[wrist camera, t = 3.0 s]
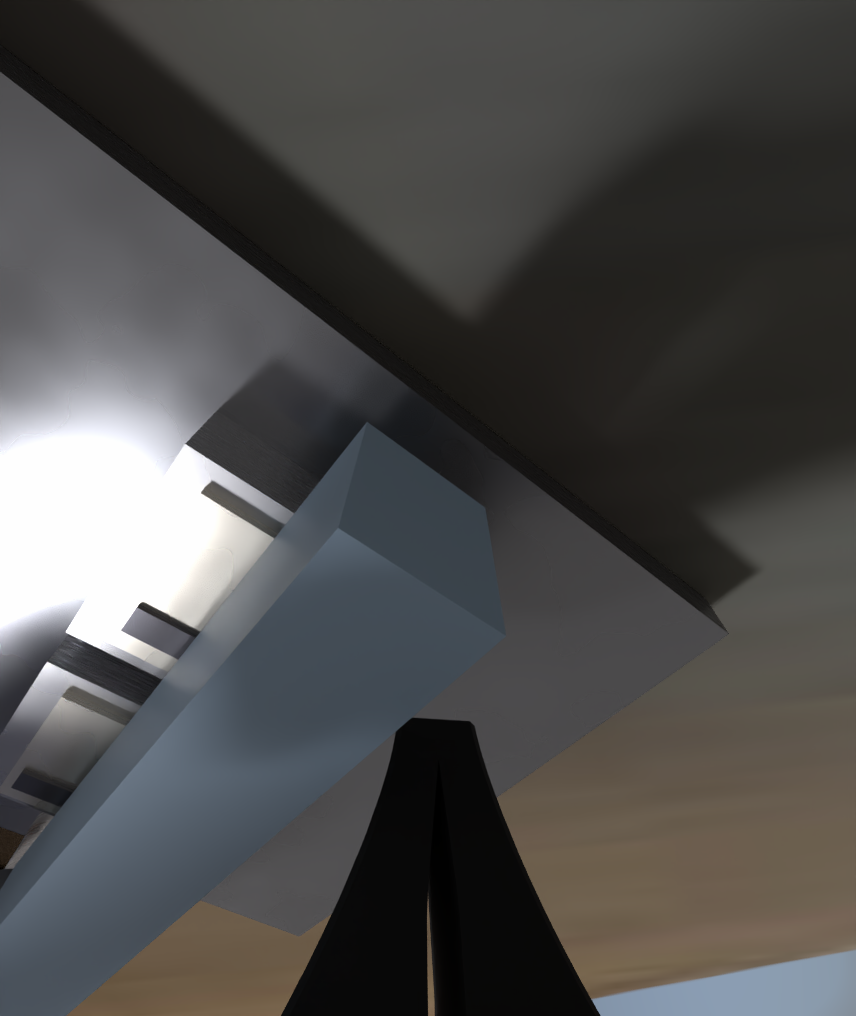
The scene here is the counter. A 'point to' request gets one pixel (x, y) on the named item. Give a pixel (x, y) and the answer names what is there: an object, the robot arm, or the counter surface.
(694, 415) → the counter surface
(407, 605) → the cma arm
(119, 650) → the chassis
